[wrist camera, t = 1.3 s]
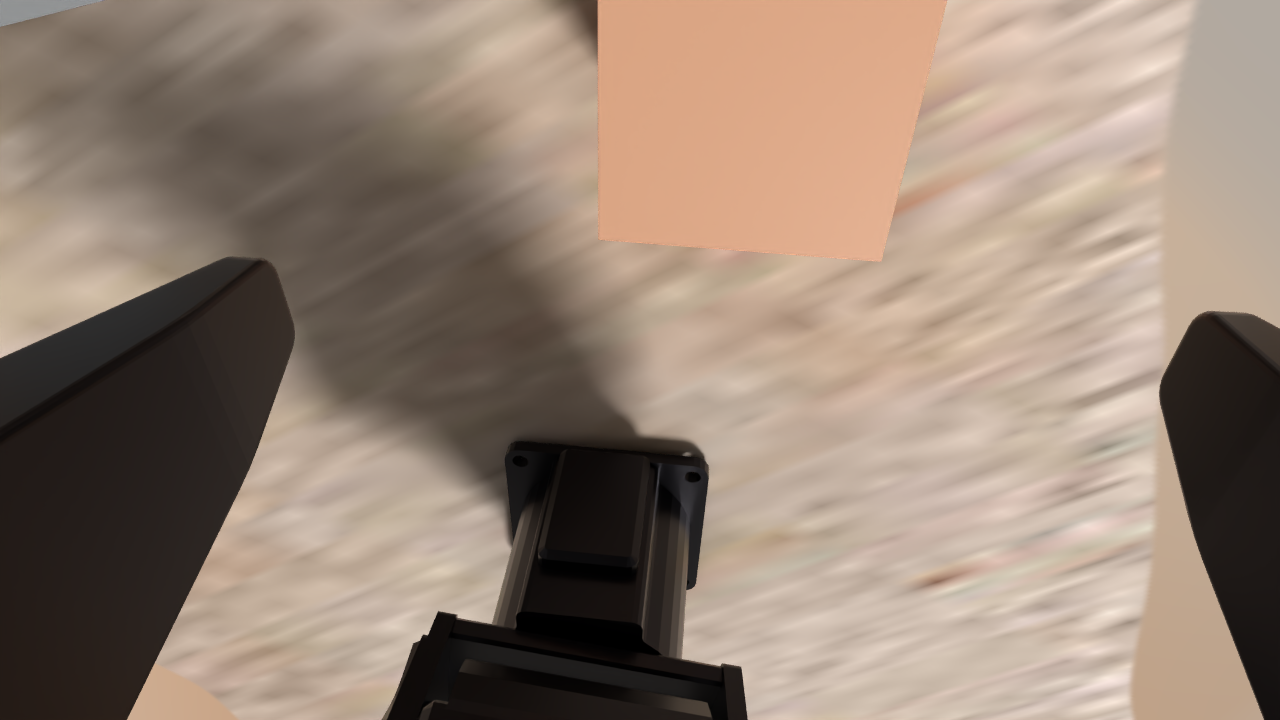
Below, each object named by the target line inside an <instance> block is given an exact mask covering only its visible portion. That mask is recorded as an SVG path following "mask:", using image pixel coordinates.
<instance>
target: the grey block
mask: <svg viewBox="0 0 1280 720" xmlns="http://www.w3.org/2000/svg"><path fill="white" fill-rule="evenodd" d="M100 1H104V0H0V27H1V26H5V25H9V24H13V23H17V22H21V21H25V20H29V19H33V18H37V17H41V16H45V15H49V14H53V13H57V12H61V11H65V10H68V9H72V8H76V7H80V6H84V5H88V4H92V3H96V2H100Z"/></svg>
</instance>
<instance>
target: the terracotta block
mask: <svg viewBox="0 0 1280 720" xmlns="http://www.w3.org/2000/svg"><path fill="white" fill-rule="evenodd" d="M946 3H947V0H598V240H609V241H622V242H635V243H648V244H661V245H674V246H686V247H699V248H712V249H725V250H738V251H751V252H764V253H776V254H789V255H802V256H815V257H828V258H841V259H854V260H867V261H879V262H881V260H882V256H883V252H884V248H885V244H886V240H887V237H888V233H889V229H890V225H891V221H892V217H893V213H894V209H895V205H896V201H897V197H898V193H899V189H900V185H901V181H902V177H903V173H904V169H905V165H906V161H907V158H908V154H909V150H910V146H911V142H912V138H913V134H914V130H915V126H916V122H917V118H918V114H919V110H920V106H921V102H922V98H923V94H924V90H925V86H926V82H927V79H928V75H929V71H930V67H931V63H932V59H933V55H934V51H935V47H936V43H937V39H938V35H939V31H940V27H941V23H942V19H943V15H944V11H945V7H946Z"/></svg>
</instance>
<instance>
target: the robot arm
mask: <svg viewBox="0 0 1280 720" xmlns="http://www.w3.org/2000/svg"><path fill="white" fill-rule="evenodd" d="M294 339H295V330H294V324H293V320H292V317H291V314H290V311H289V307H288V304H287V301H286V298H285V295H284V292H283V289H282V286H281V283H280V280H279V277H278V274H277V272H276V269H275V268H274V266H273V265H272V264H271V263H270V262H269V261H267V260H265V259H262V258H246V257H226V258H223V259H221V260H219V261H216V262H214V263H212V264H210V265H207V266H205V267H203V268H201V269H198V270H196V271H194V272H192V273H190V274H187V275H185V276H183V277H181V278H178V279H176V280H174V281H172V282H169V283H167V284H165V285H163V286H160V287H158V288H156V289H154V290H152V291H149V292H147V293H145V294H143V295H140V296H138V297H136V298H134V299H131V300H129V301H127V302H125V303H123V304H120V305H118V306H116V307H114V308H111V309H109V310H107V311H105V312H102V313H100V314H98V315H96V316H94V317H91V318H89V319H87V320H85V321H82V322H80V323H78V324H76V325H73V326H71V327H69V328H67V329H65V330H62V331H60V332H58V333H56V334H53V335H51V336H49V337H47V338H44V339H42V340H40V341H38V342H36V343H33V344H31V345H29V346H27V347H24V348H22V349H20V350H18V351H15V352H13V353H11V354H9V355H6V356H4V357H2V358H0V720H127V718H128V716H129V714H130V712H131V710H132V708H133V706H134V704H135V702H136V700H137V698H138V696H139V693H140V692H141V690H142V688H143V686H144V684H145V682H146V679H147V678H148V676H149V673H150V671H151V669H152V667H153V665H154V663H155V661H156V659H157V657H158V655H159V653H160V651H161V649H162V647H163V645H164V643H165V641H166V639H167V637H168V635H169V633H170V631H171V629H172V627H173V625H174V623H175V621H176V619H177V616H178V614H179V612H180V610H181V608H182V606H183V604H184V602H185V600H186V598H187V596H188V594H189V592H190V590H191V588H192V586H193V584H194V582H195V580H196V578H197V576H198V574H199V572H200V570H201V568H202V566H203V564H204V561H205V559H206V557H207V555H208V553H209V551H210V549H211V547H212V545H213V543H214V541H215V539H216V537H217V535H218V533H219V531H220V529H221V527H222V525H223V523H224V521H225V519H226V517H227V515H228V513H229V511H230V508H231V506H232V504H233V502H234V500H235V498H236V496H237V494H238V492H239V490H240V488H241V486H242V484H243V481H244V479H245V477H246V475H247V473H248V471H249V468H250V466H251V464H252V461H253V458H254V456H255V453H256V451H257V448H258V445H259V443H260V440H261V437H262V434H263V431H264V428H265V426H266V423H267V420H268V417H269V414H270V411H271V409H272V406H273V403H274V400H275V397H276V394H277V392H278V389H279V386H280V383H281V380H282V377H283V374H284V372H285V369H286V366H287V363H288V360H289V357H290V355H291V352H292V349H293V345H294ZM1159 397H1160V405H1161V409H1162V413H1163V417H1164V421H1165V425H1166V429H1167V433H1168V437H1169V441H1170V445H1171V448H1172V453H1173V456H1174V461H1175V465H1176V469H1177V473H1178V477H1179V481H1180V485H1181V488H1182V493H1183V496H1184V501H1185V505H1186V509H1187V513H1188V517H1189V520H1190V523H1191V527H1192V530H1193V534H1194V537H1195V540H1196V543H1197V546H1198V549H1199V551H1200V554H1201V557H1202V560H1203V563H1204V565H1205V568H1206V571H1207V573H1208V575H1209V578H1210V581H1211V583H1212V586H1213V589H1214V591H1215V594H1216V597H1217V599H1218V602H1219V604H1220V607H1221V610H1222V612H1223V615H1224V617H1225V620H1226V623H1227V625H1228V628H1229V630H1230V633H1231V635H1232V638H1233V641H1234V643H1235V646H1236V648H1237V651H1238V654H1239V656H1240V659H1241V661H1242V664H1243V666H1244V669H1245V672H1246V674H1247V677H1248V680H1249V682H1250V685H1251V687H1252V690H1253V693H1254V695H1255V698H1256V700H1257V703H1258V705H1259V708H1260V711H1261V713H1262V716H1263V718H1264V720H1280V329H1279V328H1278V327H1275V326H1274V325H1272V324H1270V323H1268V322H1266V321H1265V320H1263V319H1261V318H1258V317H1257V316H1255V315H1252V314H1248V313H1237V312H1236V313H1235V312H1215V311H1207V312H1204V313H1202V314H1200V315H1198V316H1197V317H1196V318H1195V319H1194V320H1193V321H1192V322H1191V324H1190V325H1189V327H1188V329H1187V331H1186V333H1185V335H1184V337H1183V339H1182V340H1181V342H1180V344H1179V346H1178V348H1177V350H1176V352H1175V354H1174V356H1173V358H1172V359H1171V361H1170V363H1169V365H1168V367H1167V369H1166V371H1165V373H1164V375H1163V377H1162V380H1161V384H1160V391H1159ZM519 456H523V457H525V458H522V457H519ZM505 466H506V475H507V485H508V494H509V504H510V513H511V523H512V532H513V542H514V543H513V546H512V550H511V554H510V558H509V562H508V565H507V569H506V573H505V577H504V580H503V584H502V588H501V592H500V596H499V599H498V603H497V607H496V611H495V614H494V618H493V622H492V624H487V623H482V622H476V621H471V620H465V619H460V618H457V615H456V614H451V613H445V612H440V611H438V613H437V615H436V618H435V620H434V622H433V625H432V627H431V630H430V632H429V634H428V635H423V636H422V638H421V640H420V641H418V642H416V643H413V646H412V649H411V652H410V655H409V658H408V661H407V664H406V667H405V670H404V673H403V676H402V678H401V681H400V684H399V687H398V689H397V692H396V694H395V696H394V699H393V700H392V702H391V704H390V706H389V708H388V710H387V711H386V713H385V715H384V717H383V718H382V720H748V719H747V710H746V702H745V694H744V685H743V677H742V669H741V667H740V666H734V665H729V664H723V663H722V664H721V666H716V665H711V664H705V663H700V662H694V661H689V660H683V659H682V648H683V633H684V617H685V602H686V590H689V589H691V588H693V587H694V586H695V584H696V578H697V570H698V562H699V554H700V545H701V537H702V529H703V520H704V512H705V504H706V496H707V487H708V479H709V466H708V464H707V463H706V462H705V461H704V460H702V459H700V458H696V457H688V456H677V455H666V454H655V453H644V452H633V451H622V450H611V449H600V448H589V447H578V446H568V445H557V444H546V443H535V442H524V441H519V442H514V443H512V444H510V446H509V447H508V450H507V453H506V457H505ZM689 472H696V473H689Z"/></svg>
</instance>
